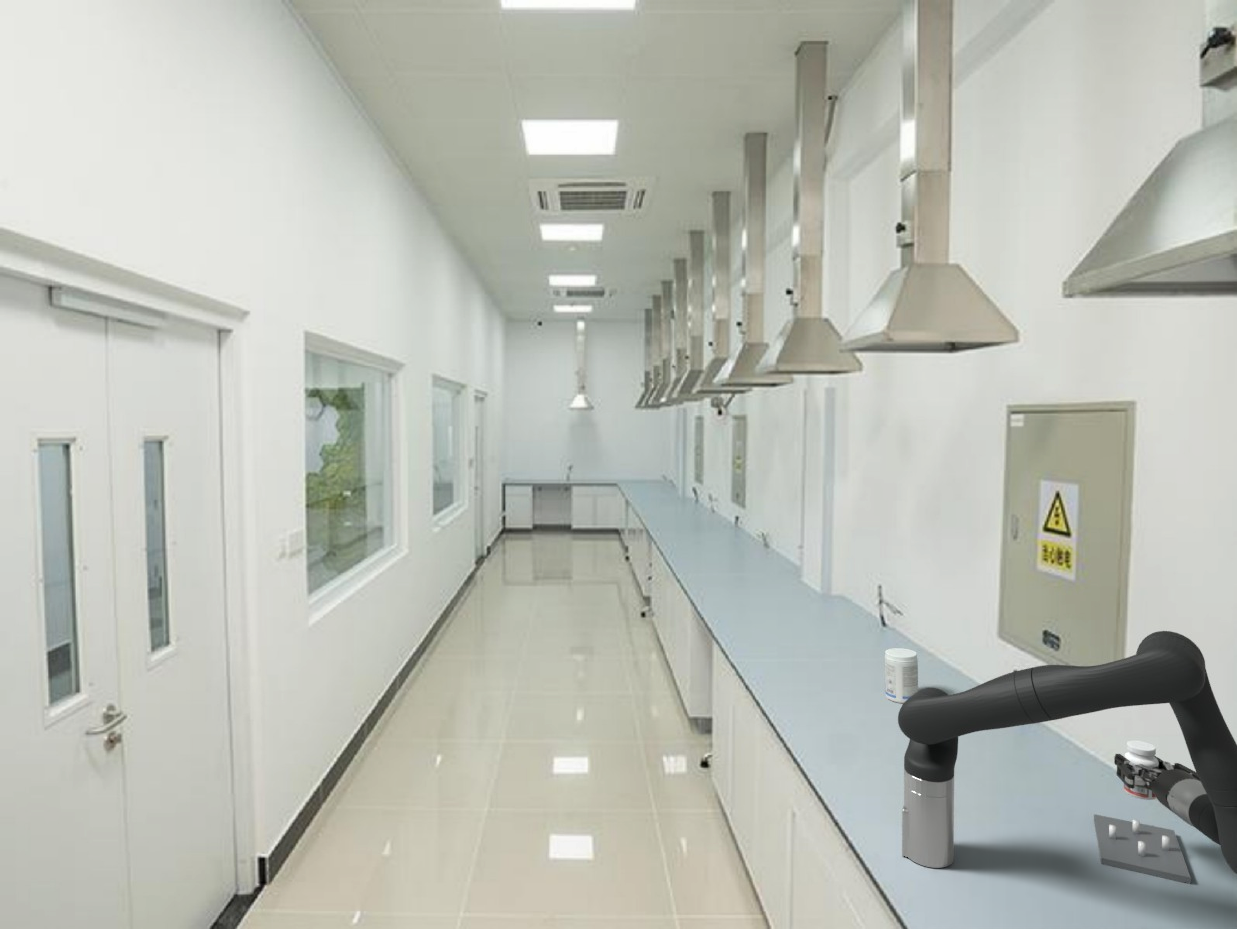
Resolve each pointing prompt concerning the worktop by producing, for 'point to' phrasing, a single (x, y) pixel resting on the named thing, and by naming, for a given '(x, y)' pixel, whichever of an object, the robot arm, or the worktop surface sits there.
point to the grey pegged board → (1140, 848)
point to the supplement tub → (900, 674)
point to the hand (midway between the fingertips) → (1133, 758)
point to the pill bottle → (1145, 756)
